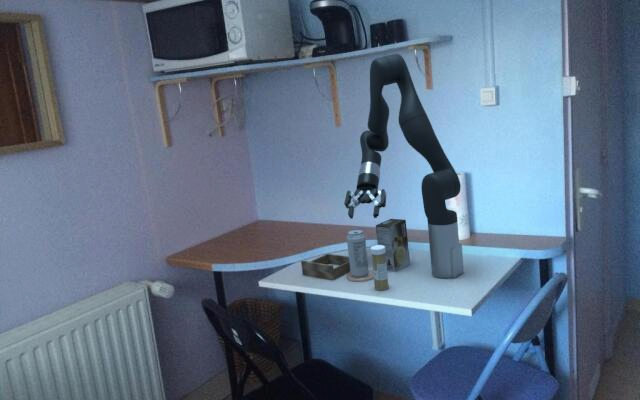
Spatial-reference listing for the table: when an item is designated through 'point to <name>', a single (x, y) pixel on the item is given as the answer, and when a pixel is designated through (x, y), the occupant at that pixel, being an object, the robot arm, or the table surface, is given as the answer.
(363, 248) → the energy drink can
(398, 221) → the coffee box
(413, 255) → the table surface
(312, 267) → the brown square open frame
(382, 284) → the sprinkles bottle
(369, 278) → the terracotta saucer
